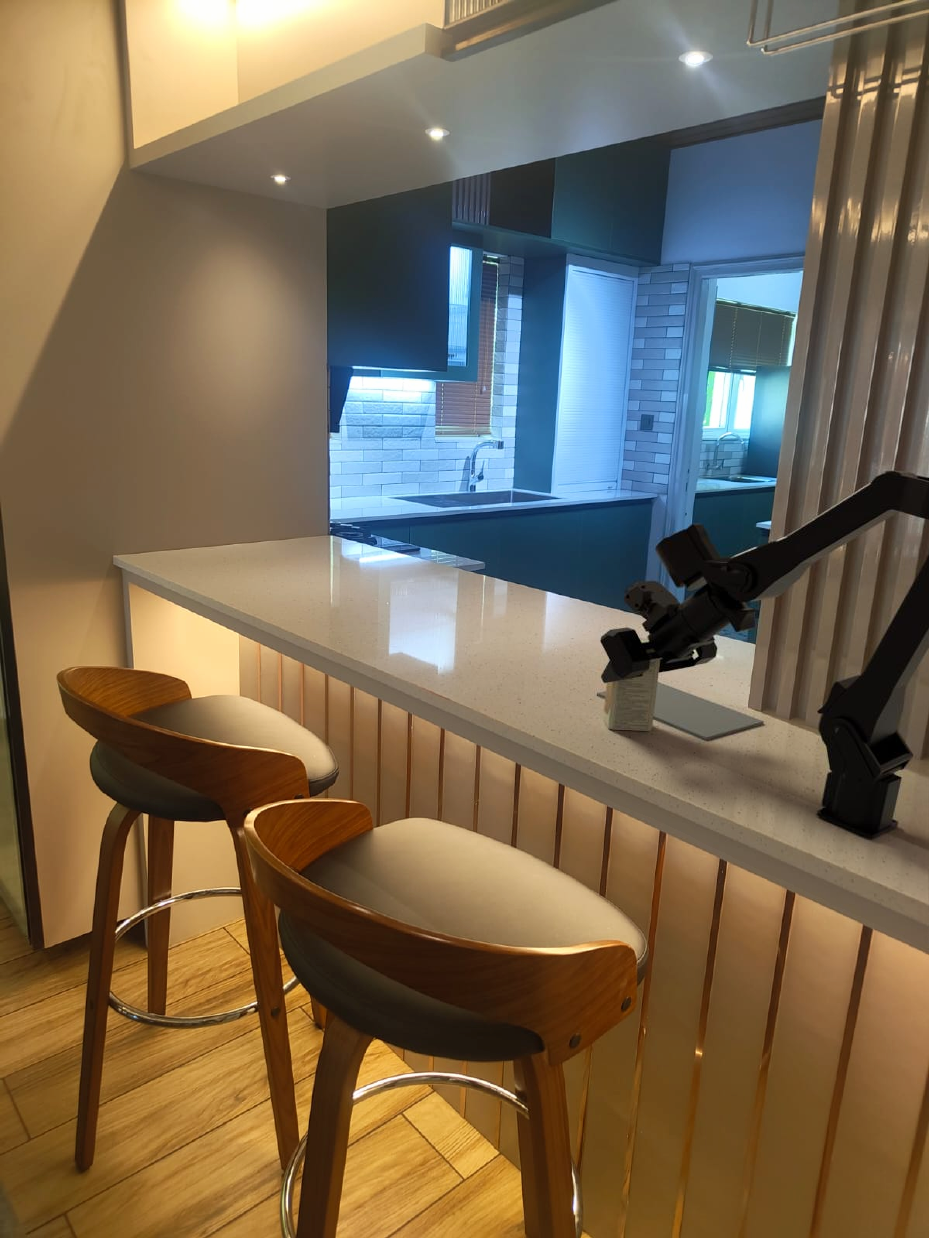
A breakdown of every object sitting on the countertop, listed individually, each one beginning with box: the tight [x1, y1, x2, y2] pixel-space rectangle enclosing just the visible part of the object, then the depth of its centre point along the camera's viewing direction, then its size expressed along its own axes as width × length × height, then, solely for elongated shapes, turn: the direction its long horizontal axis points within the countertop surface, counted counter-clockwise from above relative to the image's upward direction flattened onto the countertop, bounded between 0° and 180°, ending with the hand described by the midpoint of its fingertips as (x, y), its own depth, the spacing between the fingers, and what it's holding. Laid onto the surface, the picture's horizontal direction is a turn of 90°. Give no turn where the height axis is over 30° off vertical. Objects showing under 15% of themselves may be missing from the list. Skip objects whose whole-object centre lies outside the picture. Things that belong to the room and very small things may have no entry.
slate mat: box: [596, 681, 765, 741], centre depth 130 cm, size 20×14×1 cm
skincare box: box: [602, 637, 660, 732], centre depth 120 cm, size 6×4×12 cm
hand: (621, 676), depth 121 cm, fingers closed on skincare box, 7 cm apart
